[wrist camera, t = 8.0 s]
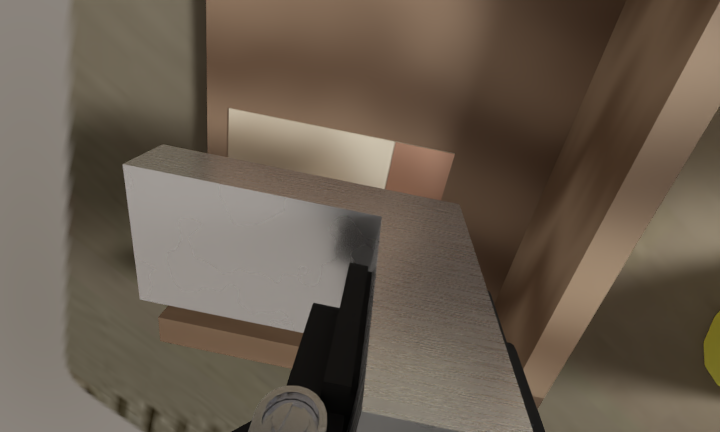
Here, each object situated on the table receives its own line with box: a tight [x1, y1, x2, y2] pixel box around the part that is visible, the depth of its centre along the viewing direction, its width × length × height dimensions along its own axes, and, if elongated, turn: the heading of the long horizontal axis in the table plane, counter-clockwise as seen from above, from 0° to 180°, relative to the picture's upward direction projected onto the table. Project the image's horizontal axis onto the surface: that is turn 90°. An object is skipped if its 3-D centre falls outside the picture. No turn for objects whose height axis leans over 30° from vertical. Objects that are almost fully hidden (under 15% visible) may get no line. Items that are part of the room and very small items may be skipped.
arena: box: [158, 0, 720, 409], centre depth 15 cm, size 24×18×6 cm
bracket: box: [123, 144, 533, 432], centre depth 10 cm, size 10×5×8 cm, turn 80°
